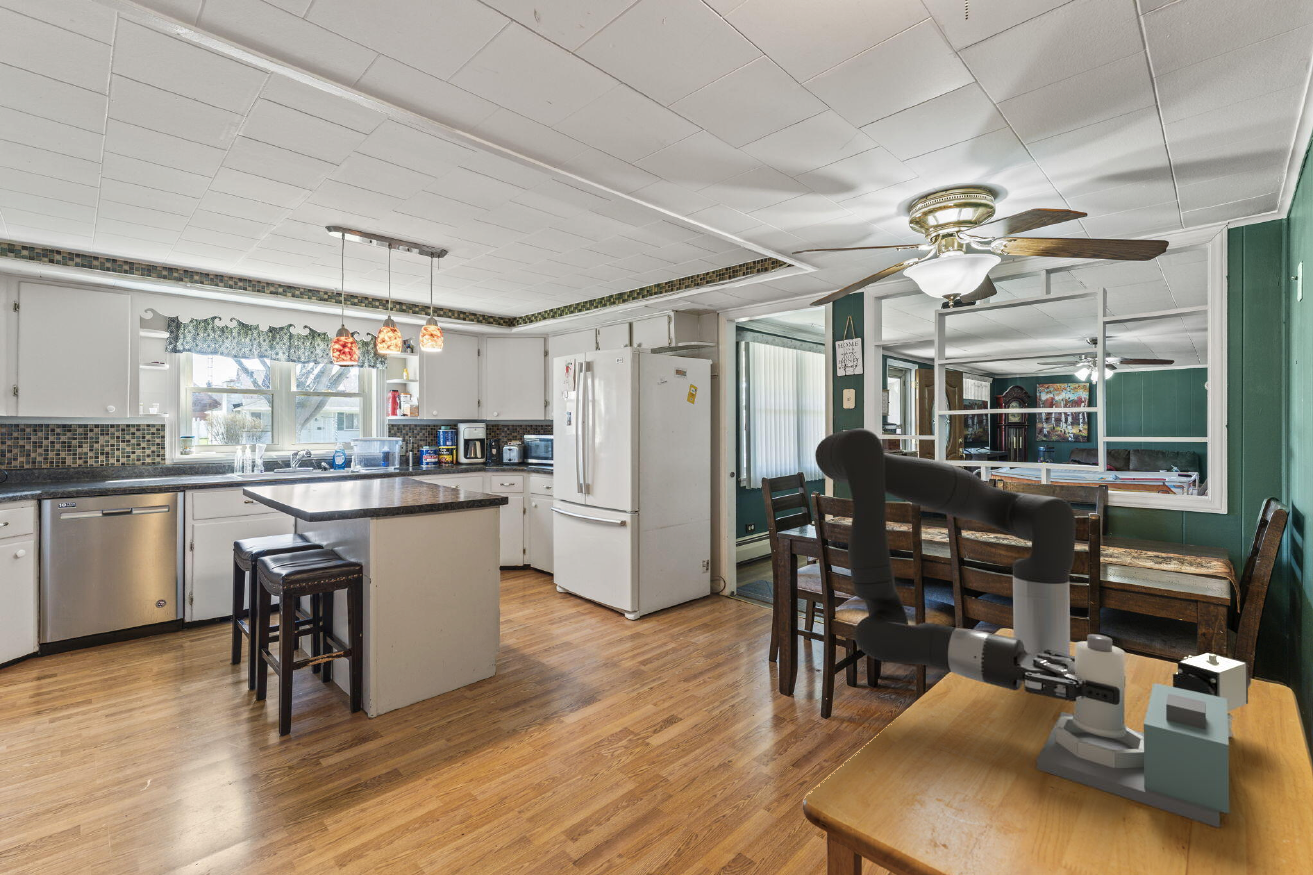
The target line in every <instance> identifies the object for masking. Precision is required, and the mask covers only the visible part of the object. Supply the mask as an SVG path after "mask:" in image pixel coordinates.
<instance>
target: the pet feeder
mask: <svg viewBox="0 0 1313 875" xmlns="http://www.w3.org/2000/svg"><path fill="white" fill-rule="evenodd" d="M1149 697H1150V698H1149V700H1148V705H1147V708H1146V713H1145V716H1144V720H1143V732H1141V731H1137V730H1134V729H1131V728H1129V727H1128V726H1126V735H1125V736H1124V737H1120V738H1110V737H1103V736H1099V735H1095V734H1092V733H1089V732H1086V731H1084V730H1082V729H1080V728H1079V727H1077V726H1076V725H1075V724H1074V723H1073V714H1074V713H1072V714H1071V713H1069V712H1064V711H1061V712H1060V715H1059V717H1058V719H1057V721H1056V722H1055V725H1054V727H1053V728H1052V730H1051V732H1050V734H1049V736H1048V738H1047V739H1046V741H1045V743H1044V745H1043V747H1042V749H1041V751H1040V752H1039V754H1038V757H1037V758H1036V759H1037V760H1036V761H1037V762H1036V763H1037V764H1036V766H1037V770H1039V771H1041V772H1045V773H1048V774H1052V775H1053V776H1056V777H1060V778H1064V779H1066V780H1068V781H1073V782H1075V783H1078V784H1082V785H1085V786H1088V787H1092V788H1095V789H1096V790H1097V789H1098V790H1099V791H1103V792H1107V793H1109V794H1113V795H1116V796H1120V797H1122V798H1125V799H1128V800H1132V801H1134V802H1137V803H1140V804H1144V805H1147V806H1150V807H1153V808H1156V809H1159V810H1163V811H1166V812H1168V813H1171V814H1175V815H1178V816H1182V817H1184V818H1188V819H1191V820H1193V821H1196V822H1199V823H1203V824H1206V825H1209V826H1213V827H1216V828H1218V829H1220V828H1221V824H1220V823H1221V819H1220V818H1221V816H1220V815H1221V812H1222V813H1225V814H1228V815H1230V771H1229V770H1230V765H1229V764H1230V763H1229V762H1230V761H1229V760H1230V755H1229V754H1230V750H1229V749H1230V748H1229V744H1230V743H1229V738H1228V717H1227V713H1228V712H1227V698H1222V697H1217V696H1213V695H1208V694H1203V693H1198V692H1194V691H1189V690H1184V689H1180V688H1175V687H1173V686H1170V685H1165V684H1159V683H1156V682H1154V683H1153V684H1152V688H1151V692H1150V696H1149Z"/></svg>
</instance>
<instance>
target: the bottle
mask: <svg viewBox="0 0 1313 875" xmlns="http://www.w3.org/2000/svg"><path fill="white" fill-rule="evenodd" d="M1086 636H1087V637H1086V638H1087V640H1086V641H1084V640H1083V641H1082V640H1081V641H1078V642H1075V643H1074V656H1075V676H1076V677H1079V678H1081V679H1084V683H1085V681H1086V680H1089V681H1093V682H1097V683H1102V684H1106V685H1110V686H1115V687H1117V688H1119V690H1120V702H1119V704H1118V705H1114V704H1110V703H1106V702H1102V701H1098V700H1094V699H1090V698H1086V697H1085V696H1084V699H1079V698H1076V701H1075V702H1074V713H1072V714H1073V723H1074V724H1075V725H1076V726H1077V727H1079V728H1080V729H1082V730H1084V731H1086V732H1089V733H1092V734H1095V735H1099V736H1103V737H1110V738H1120V737H1124V736H1125V735H1126V727H1127V726H1126V724H1125V719H1126V718H1125V713H1126V711H1125V708H1126V706H1125V703H1126V702H1125V701H1126V700H1125V699H1126V652H1125V651H1124V650H1123V649H1122V648H1120V647H1117V646H1115V645H1113V639H1112V638H1111V637H1108V636H1106V635H1102V634H1093V633H1091V634H1087V635H1086Z"/></svg>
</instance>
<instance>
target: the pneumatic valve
mask: <svg viewBox="0 0 1313 875" xmlns="http://www.w3.org/2000/svg"><path fill="white" fill-rule="evenodd" d="M1251 684H1252V679H1251V676H1250V673H1249V663H1248V662H1247V661H1243V660H1239V659H1236V658H1231V657H1228V656H1224V655H1220V654H1215V653H1212V652H1206V653H1204V654H1200V655H1197V656H1193V655H1188V656H1184V657H1183V658H1182V660H1181V661H1178V662H1177V672H1176V673H1173V674H1172V687H1175V688H1180V689H1184V690H1189V691H1194V692H1198V693H1203V694H1208V695H1213V696H1217V697H1222V698H1227V717H1228V739H1229V738H1231V737H1234V732H1233V731H1232V728H1233V722H1232V720H1234V716H1233V714H1231V713H1230V712H1231V711H1233V710H1236V709H1238V708H1241V707H1244V706H1246V705H1248V704H1249V688H1250V687H1251Z"/></svg>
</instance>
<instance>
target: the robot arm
mask: <svg viewBox="0 0 1313 875" xmlns="http://www.w3.org/2000/svg"><path fill="white" fill-rule="evenodd" d="M814 454H815V461H816V465H817V466H818V469H819V470H820V471H821V473H823V475H825V476H826V477H827V478H829V479H830V480H833V481H835V482H839V483H844V484H848V486H849V490H850V494H851V501H852V518H851V525H850V531H849V537H848V542H847V543H848V545H847V555H848V556H847V557H848V564H849V569H850V575H851V581H852V588H853V590H854V594H855V596H857V598H859V599H860V600H862V601H864V602H865V605H866V608H867V612H868V615H867V616H866V617H864V618H861V620H860V621H859V622H858V623H857V624H856V627H855V628H854V633H853V634H854V641H855V643H856V646H857V647H858V648H859V650H861V651H862V652H863V653H864V654H866V655H867V656H869V657H871V658H873V659H874V660H875V659H876V660H878V661H881V662H887V663H895V664H896V663H897V664H908V665H922V666H923V665H924V666H927V667H931V668H934V669H937V670H942V671H946V672H949V673H953V674H956V675H958V676H961V677H964V678H966V679H970V680H973V681H977V682H980V683H984V684H987V685H993V686H996V687H1000V688H1004V689H1007V690H1008V689H1009V690H1010V691H1011V690H1012V691H1018V690H1020V688H1021V687H1022V685H1023V683H1024V691H1025V693H1029V694H1034V695H1038V696H1039V695H1040V696H1044V697H1049V698H1053V699H1058V700H1064V701H1068V702H1074V703H1075V701H1076V698H1079V699H1084V696H1085V697H1086V698H1090V699H1094V700H1098V701H1102V702H1106V703H1110V704H1114V705H1118V704H1119V702H1120V690H1119V688H1117V687H1115V686H1110V685H1106V684H1102V683H1097V682H1093V681H1089V680H1086V681H1085V683H1084V679H1081V678H1079V677H1076V676H1075V655H1071V621H1070V620H1071V615H1070V614H1071V612H1070V607H1071V606H1070V605H1071V604H1070V603H1071V602H1070V599H1071V598H1070V575H1071V574H1070V573H1071V571H1072V569H1073V565H1074V561H1075V550H1076V549H1075V548H1076V546H1075V545H1076V532H1077V530H1076V528H1077V527H1076V516H1075V513H1074V510H1073V507H1072V506H1071V505H1070V503H1069V502H1068V501H1066V500H1064V499H1063V498H1060V497H1057V496H1056V497H1055V496H1050V495H1048V496H1047V495H1042V494H1032V493H1023V492H1015V491H1009V490H1006V489H1001V488H997V487H993V485H992V486H991V485H989V484H987V483H986V482H985V481H984V480H982V479H981V478H980V477H979V476H977V475H976V474H974V473H973V472H971V471H969V470H966V469H964V468H962V467H959V466H955V465H954V464H950V463H947V462H945V461H944V462H943V461H940V460H935V459H929V458H923V457H917V456H909V455H907V456H906V455H899V454H897V455H896V454H891V453H888V452H885V450H884V447H883V443H882V442H881V440H880V438H879V437H878V436H877V434H875V433H874V432H873V431H872V430H870V429H867V428H861V427H859V428H857V427H856V428H852V429H848V430H843V431H839V432H835V433H832V434H830V435H828V436H827V437H825V438H823V439H822V440H821V441H820V443H819V444H818V445H817V447H816V449H815V453H814ZM886 494H888V495H891V496H893V497H895V498H898V499H900V500H902V501H903V500H904V501H906V502H909V503H911V504H915V505H917V506H920V507H923V508H925V509H928V510H932V511H934V512H937V513H940V514H943V515H946V516H950V517H954V518H959V519H964V520H969V521H977V522H980V523H984V524H985V525H986V524H987V525H988V526H991V527H993V528H995V529H997V530H1000V531H1001V532H1004V533H1006V534H1008V535H1010V536H1012V537H1015V538H1016V539H1019V540H1022V541H1027V542H1031V548H1030V553H1029V554H1030V555H1029V556H1027V557H1025V558H1023V557H1022V558H1020V559H1016V560H1015V561H1014V562H1013V564H1012V600H1013V601H1012V602H1013V603H1012V605H1013V608H1012V612H1013V616H1012V617H1013V626H1012V627H1013V637H1011V636H1004V635H1002V634H1001V635H999V634H995V633H992V632H991V633H990V632H986V631H981V630H977V629H969V628H959V627H954V626H949V625H944V624H939V623H935V622H922V623H919V624H918V623H917V624H909V620H908V615H907V612H906V609H905V608H904V605H903V603H902V602H903V601H902V600H901V597H900V595H899V593H898V590H897V589H896V585H895V582H896V581H895V577H894V572H893V571H894V570H893V564H892V559H891V553H890V548H889V541H888V530H887V514H886V513H887V512H886V509H887V508H886V504H887V503H886V501H887V500H886Z"/></svg>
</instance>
